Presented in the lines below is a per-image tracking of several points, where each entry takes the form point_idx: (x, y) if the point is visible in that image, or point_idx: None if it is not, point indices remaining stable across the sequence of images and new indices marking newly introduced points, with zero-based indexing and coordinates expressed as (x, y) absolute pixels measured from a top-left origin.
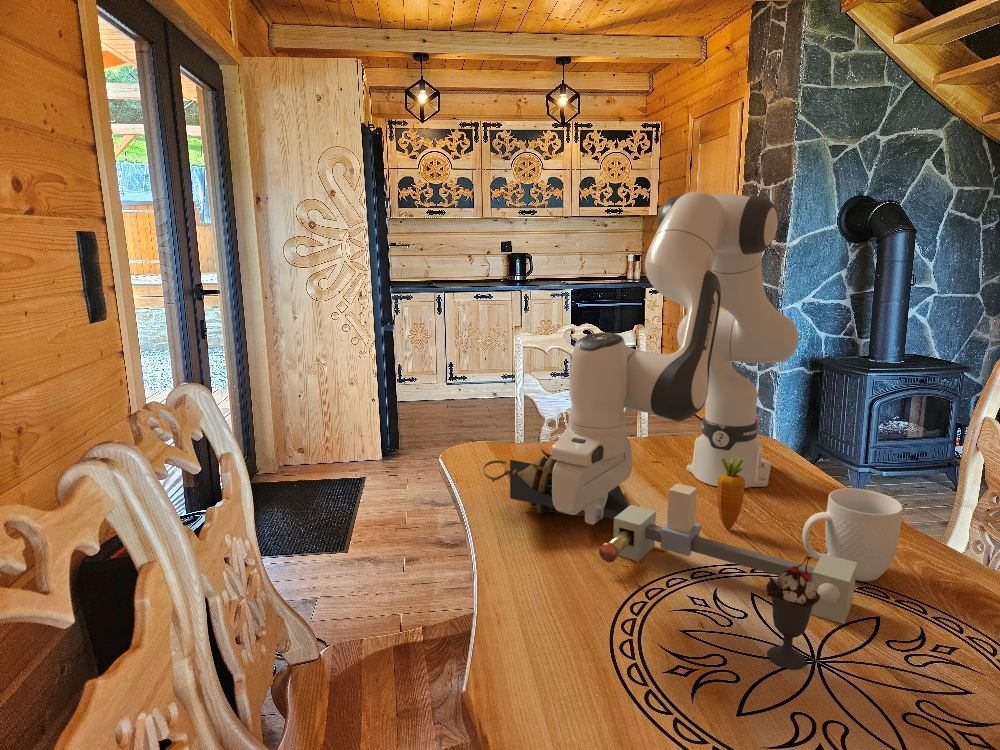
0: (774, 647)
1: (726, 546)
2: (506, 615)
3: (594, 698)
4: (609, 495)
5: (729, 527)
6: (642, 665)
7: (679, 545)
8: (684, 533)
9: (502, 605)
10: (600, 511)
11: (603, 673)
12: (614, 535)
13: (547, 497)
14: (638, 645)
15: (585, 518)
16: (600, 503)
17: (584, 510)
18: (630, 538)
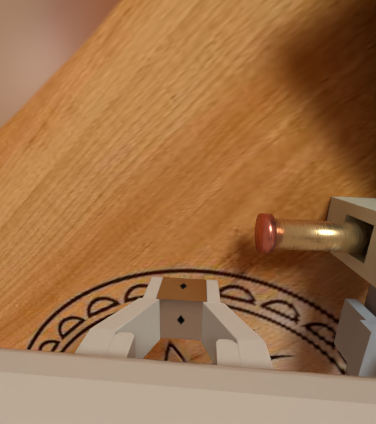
0: None
1: None
2: (51, 141)
3: (11, 305)
4: None
5: None
6: (85, 326)
7: (347, 343)
8: (369, 375)
9: (67, 118)
10: (190, 337)
11: (46, 299)
12: (358, 208)
13: None
14: (113, 313)
15: (149, 283)
16: (215, 350)
17: (131, 305)
18: (344, 252)
